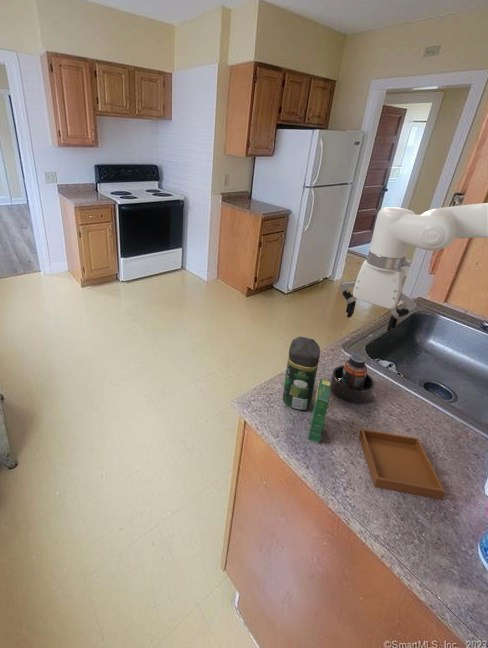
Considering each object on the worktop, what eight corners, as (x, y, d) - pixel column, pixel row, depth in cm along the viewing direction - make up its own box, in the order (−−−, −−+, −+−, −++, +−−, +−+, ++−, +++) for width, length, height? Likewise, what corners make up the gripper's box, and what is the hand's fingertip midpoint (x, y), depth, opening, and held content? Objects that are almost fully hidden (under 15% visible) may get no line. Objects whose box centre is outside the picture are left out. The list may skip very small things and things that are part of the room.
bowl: (365, 380, 99) (368, 368, 98) (376, 407, 89) (379, 394, 87) (327, 374, 101) (329, 363, 99) (333, 401, 91) (336, 388, 89)
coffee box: (311, 416, 86) (319, 377, 81) (323, 420, 84) (331, 380, 80) (307, 440, 79) (315, 398, 74) (319, 444, 78) (328, 402, 73)
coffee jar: (284, 383, 97) (292, 331, 90) (311, 391, 94) (322, 337, 87) (280, 406, 88) (288, 350, 82) (309, 415, 86) (321, 358, 79)
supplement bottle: (365, 392, 94) (374, 360, 90) (352, 399, 91) (361, 367, 87) (348, 379, 99) (355, 349, 95) (335, 386, 96) (342, 355, 92)
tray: (415, 445, 78) (418, 437, 77) (441, 499, 66) (445, 491, 65) (358, 435, 80) (360, 428, 79) (374, 486, 68) (376, 478, 67)
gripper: (429, 265, 74) (410, 329, 80) (352, 248, 84) (340, 306, 91) (424, 274, 69) (403, 341, 75) (342, 255, 79) (330, 316, 85)
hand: (369, 322), depth 83 cm, fingers open, 9 cm apart
